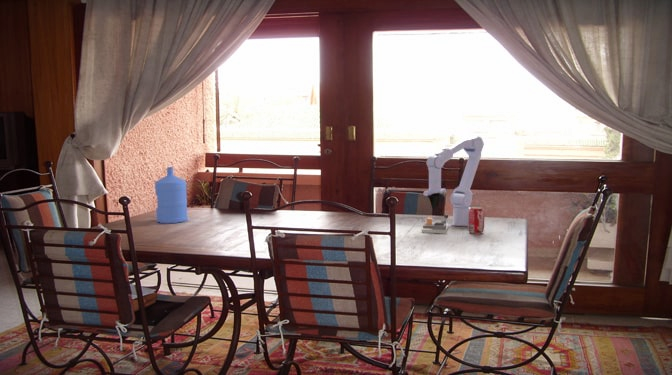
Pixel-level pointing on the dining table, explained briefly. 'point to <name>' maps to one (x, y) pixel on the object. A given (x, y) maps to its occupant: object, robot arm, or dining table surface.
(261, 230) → the dining table surface
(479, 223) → the soda can
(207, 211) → the dining table surface
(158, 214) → the water jug
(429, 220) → the orange flat-faced block
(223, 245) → the dining table surface
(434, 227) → the panel
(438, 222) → the button
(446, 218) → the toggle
